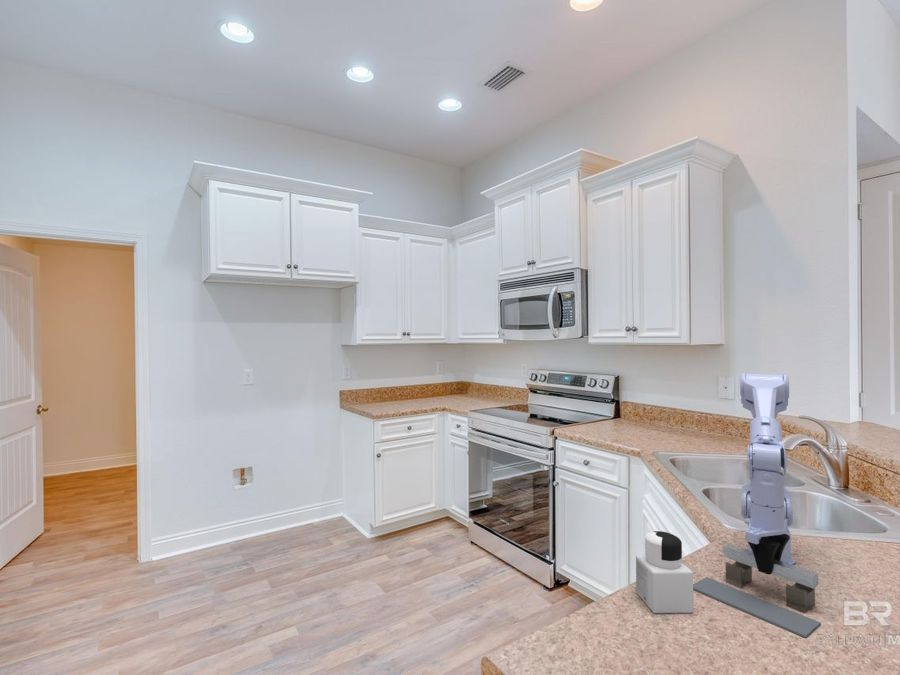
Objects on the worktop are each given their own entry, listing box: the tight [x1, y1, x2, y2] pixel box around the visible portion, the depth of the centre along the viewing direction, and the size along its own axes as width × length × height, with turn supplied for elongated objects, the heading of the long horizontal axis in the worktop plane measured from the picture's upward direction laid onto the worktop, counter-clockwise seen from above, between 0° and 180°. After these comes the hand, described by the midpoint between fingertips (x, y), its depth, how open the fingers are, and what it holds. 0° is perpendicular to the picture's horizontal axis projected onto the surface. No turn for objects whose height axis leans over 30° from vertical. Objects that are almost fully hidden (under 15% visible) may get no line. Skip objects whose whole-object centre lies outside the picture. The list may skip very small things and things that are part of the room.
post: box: [785, 582, 816, 614], centre depth 89 cm, size 5×3×4 cm, turn 124°
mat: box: [693, 576, 822, 639], centre depth 89 cm, size 7×20×1 cm, turn 34°
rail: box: [722, 543, 819, 589], centre depth 94 cm, size 2×16×2 cm, turn 35°
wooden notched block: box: [725, 561, 753, 589], centre depth 98 cm, size 5×3×4 cm, turn 124°
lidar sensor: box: [635, 530, 694, 614], centre depth 90 cm, size 8×8×13 cm
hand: (768, 570), depth 93 cm, fingers closed on rail, 2 cm apart
